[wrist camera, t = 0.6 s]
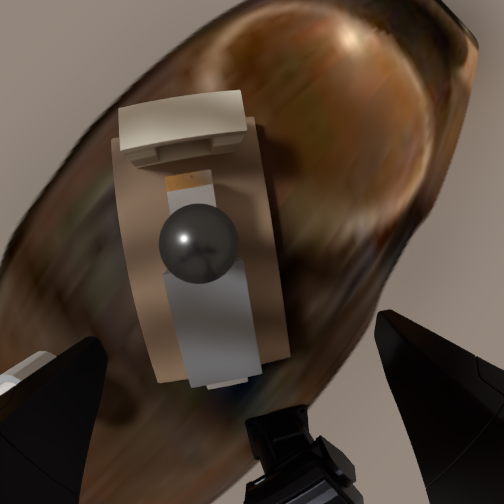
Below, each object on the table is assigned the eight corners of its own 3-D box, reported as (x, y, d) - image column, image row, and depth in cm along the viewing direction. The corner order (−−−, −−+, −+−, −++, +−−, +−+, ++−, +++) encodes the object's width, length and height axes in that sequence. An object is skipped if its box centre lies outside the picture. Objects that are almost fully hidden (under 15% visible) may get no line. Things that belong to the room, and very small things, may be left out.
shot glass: (91, 385, 22) (68, 426, 15) (59, 412, 21) (36, 450, 14) (44, 332, 21) (7, 360, 14) (16, 365, 20) (-16, 394, 13)
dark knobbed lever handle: (241, 364, 22) (278, 457, 11) (205, 371, 22) (219, 470, 11) (208, 177, 21) (223, 122, 10) (169, 184, 20) (141, 135, 9)
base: (286, 351, 25) (312, 385, 19) (159, 376, 23) (151, 417, 17) (251, 121, 23) (269, 88, 17) (114, 143, 21) (90, 116, 15)
